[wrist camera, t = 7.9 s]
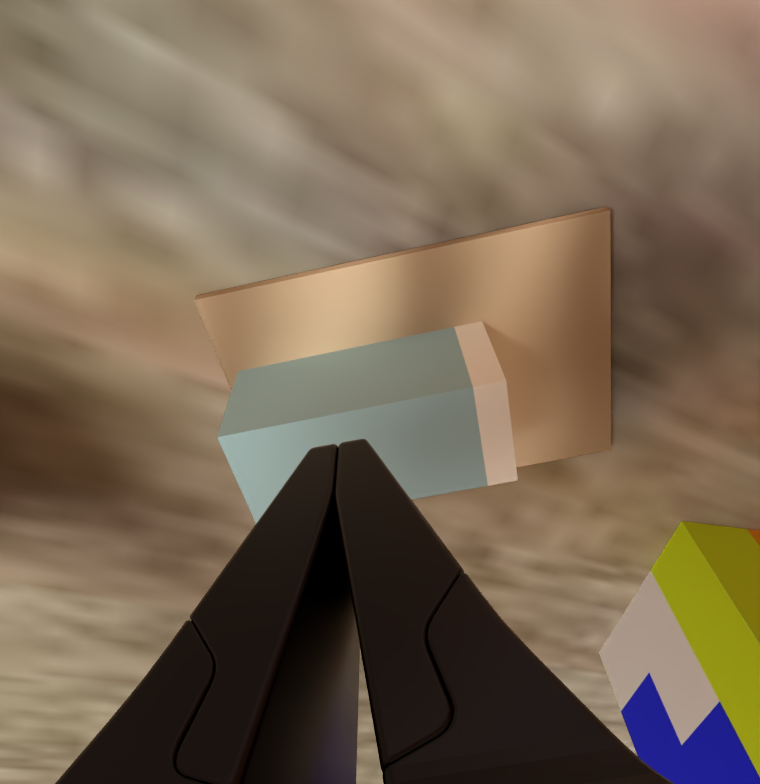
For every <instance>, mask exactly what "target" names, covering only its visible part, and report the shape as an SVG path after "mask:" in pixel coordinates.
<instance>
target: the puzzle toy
mask: <svg viewBox="0 0 760 784" xmlns="http://www.w3.org/2000/svg"><path fill="white" fill-rule="evenodd" d="M599 655H600V657H601V660H602V663H603V665H604V668H605V670H606V673H607V676H608V678H609V681H610V684H611V686H612V689H613V692H614V694H615V697H616V700H617V702H618V705H619V707H620V710H621V713H622V715H623V718H624V721H625V723H626V726H627V729H628V731H629V734H630V736H631V739H632V742H633V744H634V747H635V750H636V752H637V755H638V757H639V758H640V759H641V760H642V761H644V762H645V763H646V764H647V765H649V766H650V767H651V768H652V769H654V770H655V771H656V772H658V773H659V774H660V775H662V776H663V777H665V778H666V779H668V780H669V781H671V782H672V783H674V784H760V531H759V530H751V529H742V528H734V527H726V526H718V525H710V524H702V523H693V522H685V521H681V523H680V524H679V526H678V527H677V529H676V531H675V532H674V534H673V535H672V537H671V539H670V540H669V542H668V543H667V545H666V547H665V548H664V550H663V551H662V553H661V555H660V556H659V558H658V559H657V561H656V562H655V564H654V566H653V567H652V569H651V570H650V572H649V574H648V575H647V577H646V578H645V580H644V582H643V583H642V585H641V586H640V588H639V590H638V591H637V593H636V594H635V596H634V597H633V599H632V601H631V602H630V604H629V605H628V607H627V609H626V610H625V612H624V613H623V615H622V617H621V618H620V620H619V621H618V623H617V625H616V626H615V628H614V629H613V631H612V632H611V634H610V636H609V637H608V639H607V640H606V642H605V644H604V645H603V647H602V648H601V650H600V652H599Z"/></svg>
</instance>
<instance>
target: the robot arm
mask: <svg viewBox="0 0 760 784" xmlns="http://www.w3.org/2000/svg"><path fill="white" fill-rule="evenodd" d="M190 619H191V621H190V620H188V621H186V622H185V623H184V625H183V626H182V628H181V629H180V630H179V632H178V633H177V635H176V636H175V637H174V639H173V640H172V642H171V643H170V644H169V646H168V647H167V648H166V650H165V651H164V652H163V654H162V655H161V656H160V658H159V659H158V660H157V662H156V663H155V664H154V665H153V667H152V668H151V669H150V671H149V672H148V673H147V675H146V676H145V677H144V679H143V680H142V681H141V683H140V684H139V685H138V686H137V687H136V689H135V690H134V691H133V692H132V693H131V695H130V696H129V697H128V698H127V700H126V701H125V702H124V703H123V704H122V706H121V707H120V708H119V709H118V710H117V712H116V713H115V714H114V715H113V716H112V718H111V719H110V720H109V721H108V723H107V724H106V725H105V726H104V727H103V728H102V730H101V731H100V732H99V733H98V734H97V735H96V737H95V738H94V739H93V740H92V741H91V742H90V744H89V745H88V746H87V747H86V748H85V749H84V751H83V752H82V753H81V754H80V755H79V756H78V757H77V759H76V760H75V761H74V762H73V763H72V764H71V766H70V767H69V768H68V769H67V770H66V771H65V773H64V774H63V775H62V776H61V777H60V778H59V780H58V781H57V782H56V783H55V784H356V762H357V727H358V691H359V656H360V649H361V655H362V660H363V666H364V672H365V678H366V684H367V689H368V695H369V701H370V707H371V713H372V718H373V724H374V730H375V736H376V742H377V747H378V753H379V759H380V765H381V769H382V772H383V782H384V784H674V783H672V782H671V781H669V780H668V779H666V778H665V777H663V776H662V775H660V774H659V773H658V772H656V771H655V770H654V769H652V768H651V767H650V766H649V765H647V764H646V763H645V762H644V761H642V760H641V759H640V758H639V757H638V756H637V755H635V754H634V753H633V752H632V751H631V750H630V749H629V748H628V747H627V746H625V745H624V744H623V743H622V742H621V741H620V740H619V739H618V738H617V737H616V736H615V735H614V734H613V733H612V732H611V731H610V730H609V729H608V728H607V727H606V726H605V725H604V724H603V723H602V722H601V721H600V720H599V719H598V718H597V717H596V716H595V715H594V714H593V713H592V712H591V711H590V710H589V709H588V708H587V707H586V706H585V705H584V704H583V703H582V702H581V701H580V700H579V699H578V698H577V697H576V696H575V695H574V694H573V693H572V692H571V691H570V690H569V689H568V688H567V687H566V686H565V685H564V684H563V683H562V682H561V681H560V680H559V679H558V678H557V677H556V676H555V675H554V674H553V673H552V672H551V671H550V670H549V669H548V668H547V667H546V666H545V665H544V664H543V663H542V662H541V661H540V660H539V659H538V657H537V656H536V655H535V654H534V653H533V652H532V651H531V650H530V649H529V648H528V647H527V646H526V645H525V644H524V643H523V642H522V641H521V639H520V638H519V637H518V636H517V635H516V634H515V633H514V632H513V631H512V630H511V629H510V628H509V627H508V625H507V624H506V623H505V622H504V621H503V620H502V619H501V617H500V616H499V615H498V614H497V612H496V611H495V610H494V609H493V607H492V606H491V605H490V604H489V602H488V601H487V600H486V599H485V598H484V596H483V595H482V594H481V592H480V591H479V590H478V588H477V587H476V586H475V584H474V583H473V582H472V580H471V579H470V578H469V576H468V575H467V574H465V573H464V570H463V569H462V567H461V566H460V565H459V563H458V562H457V561H456V559H455V558H454V557H453V555H452V554H451V553H450V551H449V550H448V549H447V547H446V546H445V544H444V543H443V542H442V540H441V539H440V538H439V536H438V535H437V534H436V532H435V531H434V530H433V528H432V527H431V526H430V524H429V523H428V522H427V520H426V519H425V518H424V516H423V515H422V513H421V512H420V511H419V509H418V508H417V507H416V505H415V504H414V503H413V501H412V500H411V499H410V497H409V496H408V495H407V493H406V492H405V491H404V489H403V488H402V487H401V485H400V484H399V482H398V481H397V480H396V478H395V477H394V476H393V474H392V473H391V472H390V470H389V469H388V468H387V466H386V465H385V464H384V462H383V461H382V460H381V458H380V457H379V456H378V454H377V453H376V451H375V450H374V449H373V447H372V446H371V445H370V443H369V442H368V441H367V440H366V439H357V440H352V441H346V442H342V443H341V444H340V445H339V447H338V446H337V445H336V444H330V445H324V446H319V447H314V448H311V449H310V450H309V451H308V452H307V454H306V455H305V456H304V458H303V459H302V461H301V462H300V463H299V465H298V466H297V467H296V469H295V470H294V472H293V473H292V474H291V476H290V477H289V479H288V480H287V481H286V483H285V484H284V486H283V487H282V488H281V490H280V491H279V493H278V494H277V495H276V497H275V498H274V500H273V501H272V502H271V504H270V505H269V507H268V508H267V509H266V511H265V512H264V514H263V515H262V516H261V518H260V519H259V521H258V522H257V523H256V525H255V526H254V527H253V529H252V530H251V532H250V533H249V534H248V536H247V537H246V539H245V540H244V541H243V543H242V544H241V546H240V547H239V548H238V550H237V551H236V553H235V554H234V555H233V557H232V558H231V560H230V561H229V562H228V564H227V565H226V567H225V568H224V569H223V571H222V572H221V574H220V575H219V576H218V578H217V579H216V581H215V582H214V583H213V585H212V586H211V587H210V589H209V590H208V592H207V593H206V594H205V596H204V597H203V599H202V600H201V601H200V603H199V604H198V606H197V607H196V608H195V610H194V611H193V613H192V614H191V616H190Z"/></svg>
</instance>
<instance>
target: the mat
mask: <svg viewBox="0 0 760 784" xmlns="http://www.w3.org/2000/svg"><path fill="white" fill-rule="evenodd" d="M194 301H195V303H196V306H197V308H198V310H199V313H200V315H201V318H202V320H203V323H204V325H205V327H206V330H207V332H208V335H209V337H210V339H211V342H212V344H213V347H214V349H215V352H216V354H217V356H218V359H219V361H220V364H221V366H222V369H223V371H224V373H225V376H226V378H227V381H228V383H229V386H230V388H231V390H232V388H233V385H234V382H235V379H236V376H237V373H238V371H242V370H247V369H251V368H256V367H261V366H266V365H271V364H276V363H281V362H286V361H291V360H295V359H300V358H305V357H310V356H315V355H320V354H325V353H330V352H334V351H339V350H344V349H349V348H354V347H359V346H364V345H369V344H374V343H378V342H383V341H388V340H393V339H398V338H403V337H408V336H413V335H418V334H422V333H427V332H432V331H437V330H442V329H447V328H452V327H457V326H461V325H466V324H471V323H476V322H481V321H482V322H483V324H484V327H485V329H486V332H487V334H488V337H489V339H490V342H491V344H492V347H493V349H494V352H495V354H496V356H497V359H498V361H499V364H500V366H501V369H502V371H503V374H504V376H505V379H506V383H507V391H508V400H509V409H510V417H511V426H512V435H513V444H514V452H515V461H516V467H521V466H526V465H532V464H537V463H543V462H548V461H554V460H559V459H564V458H570V457H575V456H581V455H586V454H592V453H597V452H602V451H608V450H611V233H610V209H608V208H607V207H602V208H598V209H593V210H588V211H584V212H579V213H575V214H570V215H565V216H561V217H556V218H551V219H547V220H542V221H538V222H533V223H528V224H524V225H519V226H515V227H510V228H505V229H501V230H496V231H491V232H487V233H482V234H478V235H473V236H468V237H464V238H459V239H455V240H450V241H445V242H441V243H436V244H432V245H427V246H422V247H418V248H413V249H408V250H404V251H399V252H395V253H390V254H385V255H381V256H376V257H372V258H367V259H362V260H358V261H353V262H348V263H344V264H339V265H335V266H330V267H325V268H321V269H316V270H312V271H307V272H302V273H298V274H293V275H289V276H284V277H279V278H275V279H270V280H265V281H261V282H256V283H252V284H247V285H242V286H238V287H233V288H229V289H224V290H219V291H215V292H210V293H205V294H201V295H197V296H196V298H195V300H194Z"/></svg>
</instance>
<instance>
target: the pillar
mask: <svg viewBox="0 0 760 784" xmlns="http://www.w3.org/2000/svg"><path fill="white" fill-rule="evenodd" d="M217 438H218V441H219V443H220V445H221V447H222V449H223V452H224V454H225V456H226V458H227V460H228V463H229V465H230V467H231V469H232V472H233V474H234V476H235V478H236V480H237V483H238V485H239V487H240V489H241V492H242V494H243V496H244V498H245V500H246V503H247V505H248V507H249V509H250V512H251V514H252V516H253V518H254V520H255V523H257V522H258V521H259V519H260V518H261V516H262V515H263V514H264V512H265V511H266V509H267V508H268V507H269V505H270V504H271V502H272V501H273V500H274V498H275V497H276V495H277V494H278V493H279V491H280V490H281V488H282V487H283V486H284V484H285V483H286V481H287V480H288V479H289V477H290V476H291V474H292V473H293V472H294V470H295V469H296V467H297V466H298V465H299V463H300V462H301V461H302V459H303V458H304V456H305V455H306V454H307V452H308V451H309V450H310V449H311V448H314V447H319V446H324V445H330V444H336V445H337V446H338V447H339V445H340V444H341V443H342V442H346V441H352V440H357V439H366V440H367V441H368V442H369V443H370V445H371V446H372V447H373V449H374V450H375V451H376V453H377V454H378V456H379V457H380V458H381V460H382V461H383V462H384V464H385V465H386V466H387V468H388V469H389V470H390V472H391V473H392V474H393V476H394V477H395V478H396V480H397V481H398V482H399V484H400V485H401V487H402V488H403V489H404V491H405V492H406V493H407V495H408V496H409V497H410V499H411V500H412V499H418V498H423V497H429V496H434V495H440V494H445V493H451V492H456V491H462V490H467V489H473V488H478V487H484V486H489V485H494V484H500V483H505V482H511V481H516V480H518V479H517V470H516V461H515V452H514V444H513V435H512V426H511V417H510V409H509V400H508V391H507V383H506V379H505V376H504V374H503V371H502V369H501V366H500V364H499V361H498V359H497V356H496V354H495V352H494V349H493V347H492V344H491V342H490V339H489V337H488V334H487V332H486V329H485V327H484V324H483V322H482V321H481V322H476V323H471V324H466V325H461V326H457V327H452V328H447V329H442V330H437V331H432V332H427V333H422V334H418V335H413V336H408V337H403V338H398V339H393V340H388V341H383V342H378V343H374V344H369V345H364V346H359V347H354V348H349V349H344V350H339V351H334V352H330V353H325V354H320V355H315V356H310V357H305V358H300V359H295V360H291V361H286V362H281V363H276V364H271V365H266V366H261V367H256V368H251V369H247V370H242V371H238V373H237V376H236V379H235V382H234V385H233V388H232V391H231V395H230V398H229V401H228V404H227V407H226V410H225V414H224V417H223V420H222V423H221V426H220V429H219V433H218V436H217Z"/></svg>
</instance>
